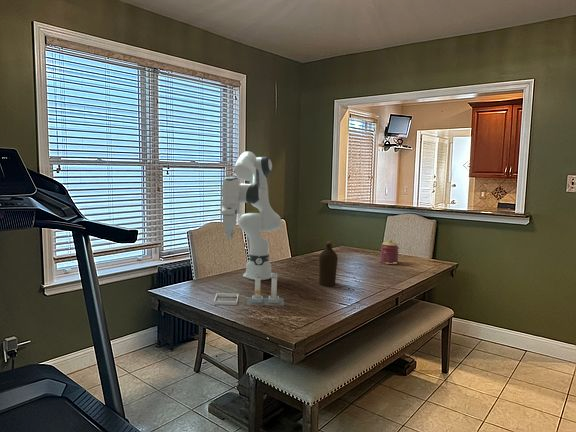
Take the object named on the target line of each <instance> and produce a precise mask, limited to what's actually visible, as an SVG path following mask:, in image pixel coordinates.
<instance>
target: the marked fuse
mask: <svg viewBox="0 0 576 432" xmlns="http://www.w3.org/2000/svg"><path fill="white" fill-rule="evenodd" d="M261 281H262V280H261V273H260V272H256V273H255V280H254V295H255V297H254V298H260V296H261Z"/></svg>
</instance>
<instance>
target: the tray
mask: <svg viewBox="0 0 576 432" xmlns="http://www.w3.org/2000/svg"><path fill="white" fill-rule="evenodd" d="M239 295H240V294H239V293H225V292H224V293H223V292H222V293H220V292H219V293H217V292H216V293H215V297H214V299H213V306H216V305H223V306H224V305H226V306H230V305H231V306H236V305H238V301H239ZM218 297H221V298H222V297H223V298H224V297H225V298H236V301H233V300H231V301H230V300H229V301H227V300H224V301H223V300H217V299H218Z"/></svg>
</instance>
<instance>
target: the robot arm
mask: <svg viewBox="0 0 576 432" xmlns="http://www.w3.org/2000/svg"><path fill="white" fill-rule="evenodd" d="M272 170H273V163H272V160H271V159H270V158H269V157H268V156H256V154H255V153H254V152H252V151H249V150H247V151H244V152H242V153H241V154H240V156H239V157H238V158H237V160H236V162H235V165H234V173H235V175H236V176H234V175H233V176H226V177H224V178H223V180H222V186H221V197H222V201H221V212H220V213H221V215H222V223H223V224H222V225H223V231H224V232H225V234H226V240H231V238H232V237H233V236H234V231H235V227H236V226H237V217H238V215H239V214H240V208H241V207H240V206H241V205H240V204H241V203H243V204H245V203H247V204H251V206H252V207H254V208H255V209H258V211H259V212H248V213H246V212H245V213H242V214H241V215H240V217H239V218H238V226H239V228H240V229H241V230H242V231H243V232H244V233H245V234H246V235H247V237H248V240H249V254H248V262H246V265H245V266H246V267H245V268H246V269H245V272H244V273H243V275H242V278H246V279H249V280H254V281H255V273H256V272H260V273H261V281H264V280H269V279H272V278H271V273H272V263H271V262H270V261H269V260H270V254H269V247H270V245H269V244H270V243H269V240H268V239H267V238H265V237H264V236H261V234H260V232H273V231H277V230H279V229H280V228H281V226H282V218H281V216H280V215H279V214H278V213H277V212H276V211H274V209H273V208H272V206H271V204H270V200H269V199H270V198H269V187H268V180H267V177H268V176H269V174H271V172H272ZM240 180H243V181H247V182H249V183H240Z"/></svg>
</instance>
